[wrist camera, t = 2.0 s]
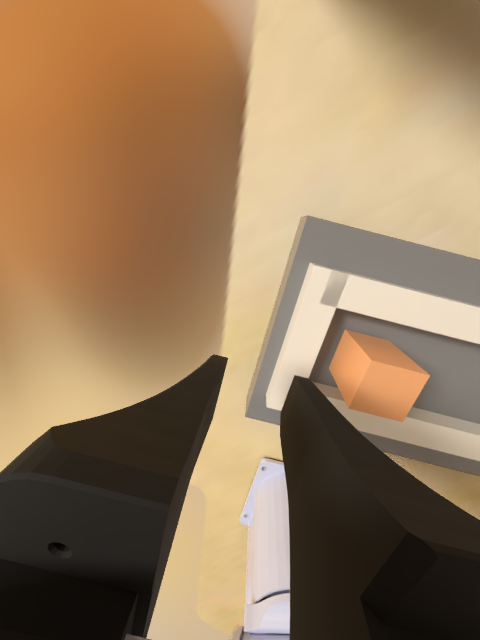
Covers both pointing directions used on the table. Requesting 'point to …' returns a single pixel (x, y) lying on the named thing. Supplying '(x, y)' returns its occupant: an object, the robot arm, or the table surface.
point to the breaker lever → (376, 376)
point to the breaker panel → (379, 335)
